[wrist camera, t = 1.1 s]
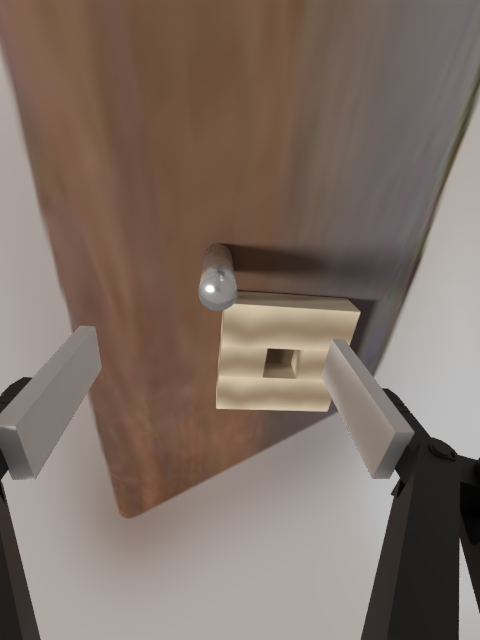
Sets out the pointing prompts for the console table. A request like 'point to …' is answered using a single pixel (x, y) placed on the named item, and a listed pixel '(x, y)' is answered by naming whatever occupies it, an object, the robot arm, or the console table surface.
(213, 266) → the pin
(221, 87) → the console table surface
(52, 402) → the robot arm
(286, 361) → the bore block
